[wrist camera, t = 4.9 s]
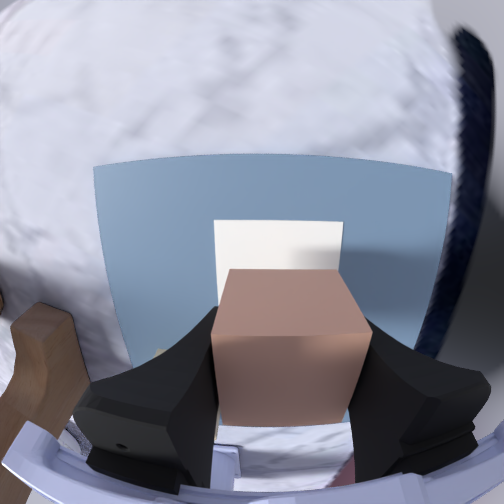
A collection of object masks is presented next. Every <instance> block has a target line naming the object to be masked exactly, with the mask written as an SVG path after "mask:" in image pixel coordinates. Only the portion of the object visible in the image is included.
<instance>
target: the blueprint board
mask: <svg viewBox="0 0 504 504" xmlns="http://www.w3.org/2000/svg"><path fill="white" fill-rule="evenodd" d="M93 172H94V186H95V198H96V208H97V216H98V224H99V231H100V238H101V244H102V250H103V256H104V261H105V266H106V271H107V276H108V281H109V285H110V290H111V294H112V298H113V302H114V306H115V310H116V314H117V317H118V321H119V325H120V328H121V332H122V335H123V338H124V341H125V345H126V348H127V351H128V354H129V357H130V360H131V363H132V366H133V368H136V367H138V366H140V365H142V364H144V363H146V362H148V361H149V360H151V359H153V358H154V356H155V354H156V351H157V349H166V350H168V349H169V348H171V347H172V346H173V345H175V344H176V343H177V342H178V341H179V340H181V339H182V338H183V337H184V336H185V335H186V334H188V333H189V332H190V331H191V330H192V329H193V328H194V327H195V326H196V325H197V324H198V323H199V322H200V321H201V320H202V319H203V318H204V317H205V316H206V314H207V313H208V312H209V311H210V310H211V309H212V308H213V307H214V306H219V304H220V300H221V297H222V293H223V290H224V286H225V283H226V279H227V276H228V272H229V269H337V271H338V272H339V274H340V276H341V277H342V279H343V281H344V282H345V284H346V286H347V287H348V289H349V291H350V293H351V294H352V296H353V298H354V300H355V301H356V303H357V305H358V307H359V308H360V310H361V312H362V314H363V315H364V316H365V317H366V318H367V319H368V320H370V321H371V322H372V323H373V324H375V325H376V326H377V327H379V328H380V329H381V330H383V331H384V332H386V333H387V334H388V335H390V336H391V337H393V338H394V339H396V340H397V341H399V342H401V343H402V344H404V345H406V346H407V347H409V348H411V349H414V346H415V343H416V341H417V338H418V335H419V332H420V330H421V327H422V324H423V321H424V318H425V315H426V312H427V308H428V305H429V302H430V298H431V295H432V291H433V287H434V284H435V280H436V276H437V272H438V267H439V263H440V258H441V254H442V249H443V243H444V238H445V232H446V226H447V219H448V211H449V203H450V193H451V181H452V173H447V172H442V171H437V170H432V169H426V168H421V167H415V166H408V165H402V164H395V163H388V162H380V161H372V160H363V159H353V158H342V157H330V156H314V155H292V154H219V155H197V156H182V157H169V158H158V159H148V160H139V161H131V162H123V163H116V164H109V165H102V166H96V167H93ZM344 422H350V418H349V412H348V408H347V410H346V413H345V415H344V418H343V420H342V422H341V423H344ZM333 424H335V423H333ZM219 425H223V423H222V417H221V413H220V420H219ZM322 425H325V424H322ZM224 426H229V425H224ZM309 426H314V425H309ZM241 427H250V426H241ZM289 427H297V426H289Z"/></svg>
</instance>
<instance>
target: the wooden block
mask: <svg viewBox="0 0 504 504" xmlns="http://www.w3.org/2000/svg"><path fill="white" fill-rule="evenodd" d="M10 329H11V334H12V339H13V343H14V347H15V351H16V359H15V366H14V374H13V376H12V378H11V380H10V382H9V384H8V386H7V388H6V390H5V392H4V393H3V394H2V396H1V397H0V504H26V501H27V499H28V497H29V495H30V493H31V491H32V488H30V487H29V486H28V485H26V484H25V483H24V482H22V481H21V480H20V479H19V478H17V477H16V476H15V475H14V474H13V473H11V472H10V471H9V470H8V469H7V468H6V467H4V466H3V465H2V460H3V458H4V457H5V455H6V453H7V451H8V450H9V448H10V446H11V445H12V443H13V442H14V440H15V438H16V437H17V435H18V434H19V432H20V430H21V429H22V427H23V426H24V424H25V423H26V421H30V422H32V423H34V424H35V425H37V426H39V427H41V428H43V429H45V430H46V431H48V432H49V433H50V434H52V435H53V436H54V437H55V438H56V439H57V440H58V439H59V437H60V435H61V433H62V431H63V430H64V428H65V426H66V425H67V423H68V421H69V419H70V418H71V416H72V412H73V410H74V408H75V406H76V404H77V403H78V401H79V399H80V398H81V396H82V395H83V393H84V391H85V390H86V388H87V387H88V385H89V384H90V380H89V377H88V374H87V371H86V368H85V364H84V361H83V358H82V354H81V351H80V347H79V343H78V339H77V335H76V331H75V327H74V323H73V318H72V316H71V314H70V313H68V312H65V311H62V310H59V309H57V308H54V307H51V306H49V305H46V304H44V303H41V302H38V303H36V304H34V305H33V306H32V307H31V308H30V309H28V310H27V311H26V312H25V313H24V314H23V315H21V316H20V317H19V318H18V319H17V320H16V321H14V322H13V323H12V324H11V326H10Z"/></svg>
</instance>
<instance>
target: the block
mask: <svg viewBox="0 0 504 504" xmlns="http://www.w3.org/2000/svg"><path fill="white" fill-rule="evenodd" d="M2 309H3V301H2V297H1V293H0V314H1V311H2Z"/></svg>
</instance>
